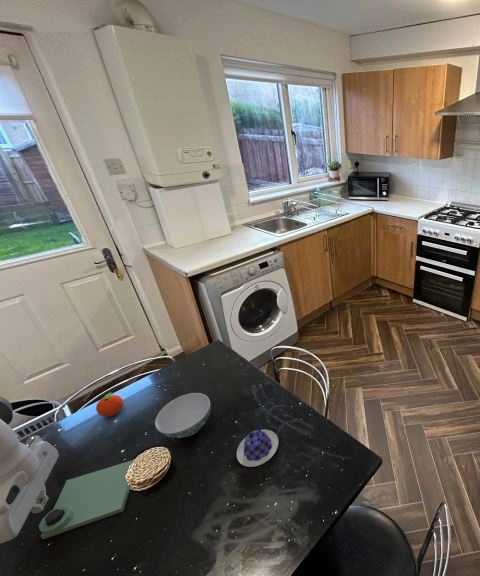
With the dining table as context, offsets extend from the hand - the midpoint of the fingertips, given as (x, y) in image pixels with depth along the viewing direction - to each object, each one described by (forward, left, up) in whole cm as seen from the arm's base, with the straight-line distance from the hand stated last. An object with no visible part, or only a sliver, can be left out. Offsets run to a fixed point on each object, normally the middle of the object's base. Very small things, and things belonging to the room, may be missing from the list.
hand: (41, 506), depth 73 cm
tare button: (0, 0, -6) cm, 6 cm away
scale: (+6, +4, -8) cm, 11 cm away
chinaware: (+27, +18, -9) cm, 34 cm away
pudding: (+47, +2, -9) cm, 48 cm away
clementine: (+2, +35, -9) cm, 37 cm away
